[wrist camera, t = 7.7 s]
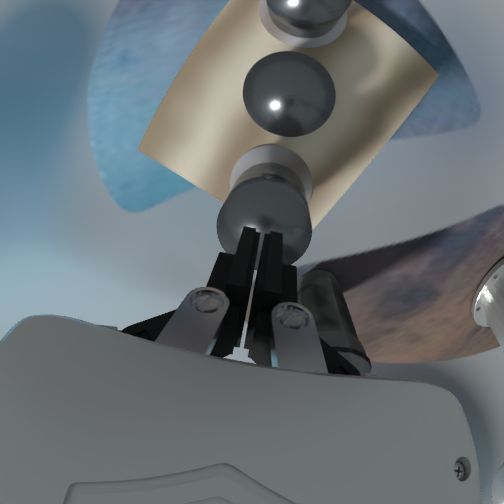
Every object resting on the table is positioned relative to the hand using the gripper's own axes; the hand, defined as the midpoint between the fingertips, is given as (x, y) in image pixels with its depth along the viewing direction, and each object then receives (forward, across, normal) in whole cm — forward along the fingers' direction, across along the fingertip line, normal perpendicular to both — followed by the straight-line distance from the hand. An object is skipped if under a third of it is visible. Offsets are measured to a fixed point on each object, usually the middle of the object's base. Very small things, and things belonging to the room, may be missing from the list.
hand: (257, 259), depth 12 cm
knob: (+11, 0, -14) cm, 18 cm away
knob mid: (+11, 0, -7) cm, 13 cm away
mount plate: (+14, 0, -7) cm, 16 cm away
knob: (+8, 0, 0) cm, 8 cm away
